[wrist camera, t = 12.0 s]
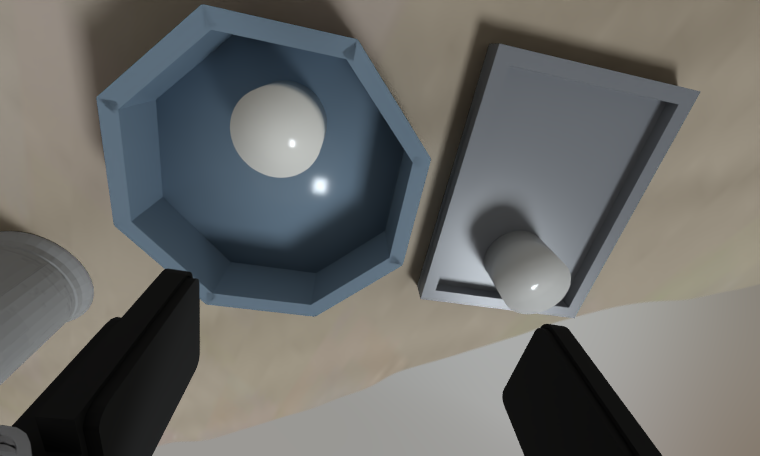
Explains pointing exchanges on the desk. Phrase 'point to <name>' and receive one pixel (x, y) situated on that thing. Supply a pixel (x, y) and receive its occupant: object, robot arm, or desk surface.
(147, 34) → the desk surface
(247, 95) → the pebble
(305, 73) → the bowl
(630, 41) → the desk surface
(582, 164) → the tray
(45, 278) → the glass holder
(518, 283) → the pebble
